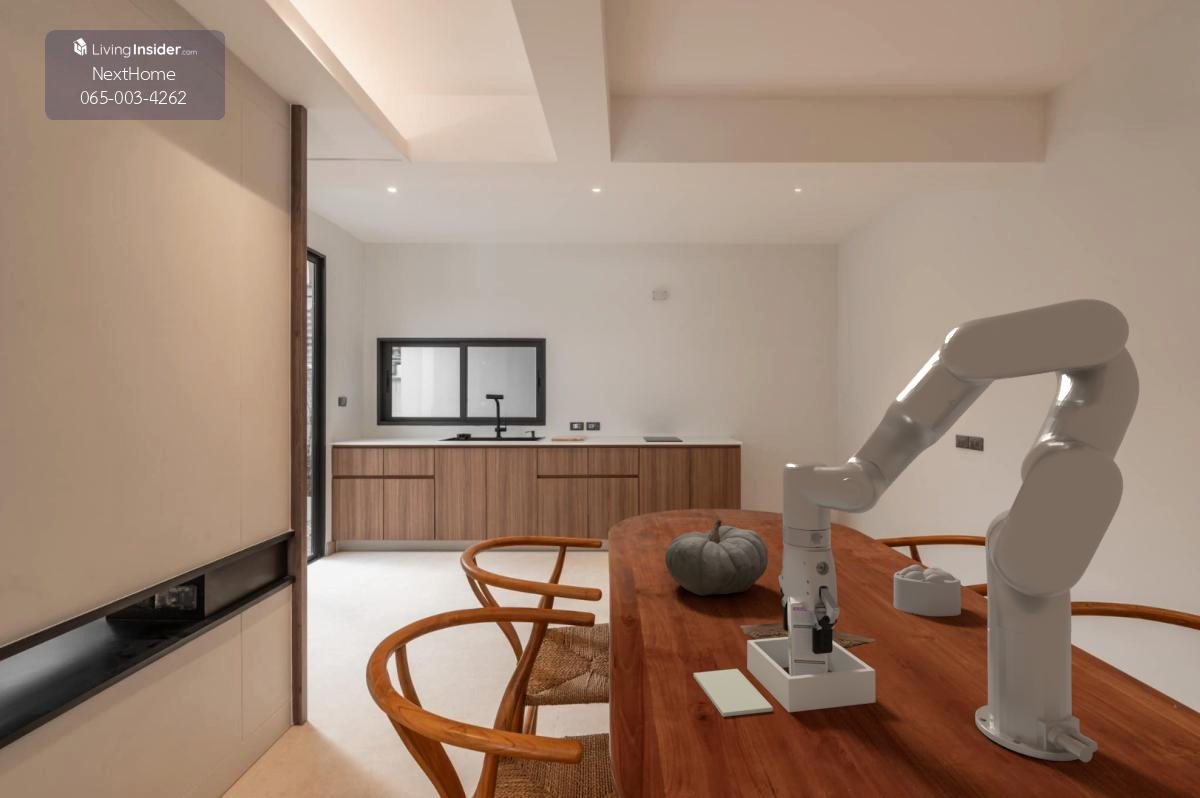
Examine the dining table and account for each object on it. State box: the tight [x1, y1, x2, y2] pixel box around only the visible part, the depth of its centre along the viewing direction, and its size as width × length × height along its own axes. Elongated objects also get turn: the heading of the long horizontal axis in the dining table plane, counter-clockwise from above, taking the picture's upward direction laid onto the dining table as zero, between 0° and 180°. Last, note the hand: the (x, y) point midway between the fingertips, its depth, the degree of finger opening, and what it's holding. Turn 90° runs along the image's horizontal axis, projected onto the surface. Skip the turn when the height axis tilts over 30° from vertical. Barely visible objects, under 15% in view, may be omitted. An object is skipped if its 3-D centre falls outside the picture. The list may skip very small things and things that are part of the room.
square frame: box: [746, 637, 876, 713], centre depth 98 cm, size 15×15×5 cm
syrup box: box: [788, 597, 829, 676], centre depth 98 cm, size 6×6×14 cm
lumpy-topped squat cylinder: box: [893, 564, 962, 617], centre depth 133 cm, size 10×13×9 cm
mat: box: [692, 668, 774, 718], centre depth 95 cm, size 13×8×1 cm, turn 11°
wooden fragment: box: [739, 622, 877, 649], centre depth 118 cm, size 26×11×1 cm, turn 73°
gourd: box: [664, 519, 769, 596], centre depth 147 cm, size 25×25×17 cm
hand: (806, 640), depth 98 cm, fingers open, 8 cm apart
